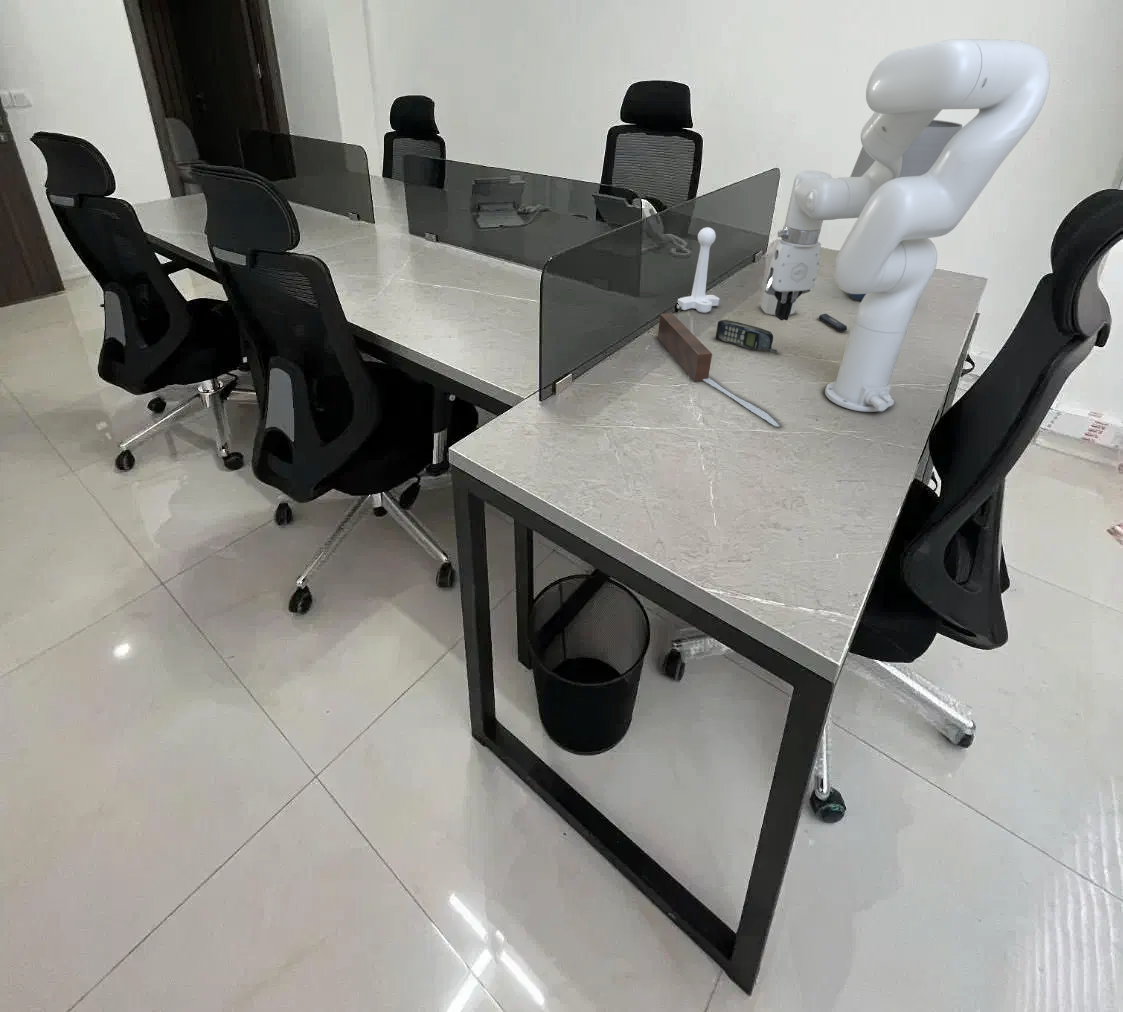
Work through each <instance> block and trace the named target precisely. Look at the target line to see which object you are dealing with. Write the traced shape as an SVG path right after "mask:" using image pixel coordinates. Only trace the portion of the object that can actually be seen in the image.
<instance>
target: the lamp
mask: <svg viewBox="0 0 1123 1012" xmlns="http://www.w3.org/2000/svg"><path fill="white" fill-rule="evenodd" d="M962 127H963V124H961V123H958V122H954V121H947V120H940V119H933V121H932V122H931V123H930V124H929V125H928V126H927V127H926V128H925V129H924V130H923V132H922V133H921V134H920V135H919V136H918V137H917V138H916V139H915V140H914V142H913V143H912V144H911V145H910V146H909V147H908V148H907V150H906V151H905V152H904V153H903V154H902V167H901V171H900V174H899V177H908V176H921V175H923V174H925V173H927V172H928V171H929V170H930V168H931V167H932V166H933V165H934V163H935V162H936V160H937V159H938V157H939V156H940V154H941V152H942V151H943V149H944V147H945V146H946V144H947V143H948V142H949V141H950V139H951V138H952V137H953V136H954V135H955V134H956V133H957V132H958V131H959V130H960V129H961V128H962ZM875 161H876V160H874V159H873V158H872V157H871V156H870V155H869V154H868V153H867V152H866V151H865V149H864V147H863V146H862V147H861V149H860V152H859V154H858V156H857V159H856V161H855V164H854V166H853V169H852V171H851V174H850V176H849V177H861V176H862V175H863V174H864V173H865V172H866V171H867V170H868V169H869V168H870V167H871V166H872V164H873V163H874V162H875ZM899 177H898V178H899ZM847 295H848V296H849V297H850V298H851V299H853V300H855V301H858V302H861V301H862V300H863V298H864V296H865V295H866V294H850V293H847Z"/></svg>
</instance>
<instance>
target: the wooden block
mask: <svg viewBox="0 0 1123 1012" xmlns="http://www.w3.org/2000/svg"><path fill="white" fill-rule="evenodd" d="M658 321H659V322H658V330H657V340H658V342H660V343H661V344H662V346H664V348H665V349H666V351H668V353H670V355H671V356H672V357H673V358H674V359H675V361H676V362H677V363H678V364H679V365H680V366H681V368H682V369H683V370H684V371H685V372H686V373H687V374H688V375H689V377H690V378H691V379H692V381H694V382H704V381H703V379H708V377H709V376H710V371H711V370H710V369H711V364H712V359H713V353H712V352H711V350H709V349H708V348H707V347H706V346H705V344H704V343H702V342H701V341H700V340H699V338H698V337H696V336H695V335H694V333H693V332H692V331H691V330H690V329H689V328H688V327H687V326H686V325H685V324H683V322H682V321H681V320H680V319H679V318H678V317H677V316H676V315H675V314H673V312H669V313H667V312H666V313H660V314H659V320H658Z"/></svg>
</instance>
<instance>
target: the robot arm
mask: <svg viewBox="0 0 1123 1012" xmlns="http://www.w3.org/2000/svg"><path fill="white" fill-rule="evenodd" d="M1049 63H1050V62H1049V60H1048V58H1047V56H1046V54H1045V52H1043V50H1042V49H1041V48H1039V47H1038V46H1037V45H1035V44H1032V43H1030V42H1027V41H1023V40H1016V39H997V38H996V39H983V38H953V39H946V40H942V41H935V42H933V43H927V44H923V45H918V46H915V47H910V48H904V49H900V50H899V49H898V50H896V51H894V52H892V53H889V54H888V55H887V56H885V57H883V59H882V60H880V62H878V64H877V65H876V66H875V67H874V69H873V71H872V72H871V74H870V76H869V79H868V81H867V84H866V88H865V89H866V90H865V100H866V105H867V106H868V108H869V109H870V110H871V111H872V112H874V113H872V114H871V116H870V118H869V119H868V120H867V121H866V122H865V124H864V125H863V127H862V129H861V132H860V142H861V145H862V147H864V149H865V151H866V152H867V153H868V154H869V155H870V156H871V157H872V158H873V159H874V160H876V161H875V162H874V163H873V164H872V166H871V167H870V168H869V169H868V170H867V171H866V172H865V173H864V174H863V175H862V176H861V177H850V176H845V177H833V176H832V175H831V174H830V173H828V172H827V171H821V170H812V169H811V170H802V171H800V172H798V173H797V174H796V175H795V177H794V180H793V184H792V189H791V194H790V197H789V202H788V208H787V211H786V212H787V213H786V217H785V221H784V225H783V228H782V229H781V230H778V231H777V237H778V238H781V239H779V240H778V241H777V244H776V246H775V248H774V251H773V254H772V257H771V260H770V263H769V267H768V270H767V274H766V279H767V280H766V279H765V283H767V287H766V289H765V292H766V293H767V294H769V295H773V296H775V297H776V299H777V300H778V301H777V306H776V310H775V315H774V316H775V318H777V319H778V320H779V321H781V322H783V321H788V320H789V317H790V316H791V315H790V312H791V308H792V304H793V303H794V302H795V301H796V299H797V298H798V299H799V297H801V295H804V294H807V293H810V292H811V290H812V289H813V288H814V287H815V286H816V283H817V278H818V274H819V268H820V261H821V251H822V249H821V248H822V247H821V246H822V244H821V242H820V241H819V238H820V234H821V231H822V226H823V222H824V221H832V220H841V219H842V220H843V219H856V220H855V223H854V225H853V226H852V227H851V230H850V231H849V233H848V235H847V236H846V238H845V240H844V242H843V244H842V245H841V248H840V249H839V251H838V254H837V256H836V259H835V263H834V271H833V272H834V274H833V275H834V280H835V284H836V285H837V287H838V288H839V289H840V290H841V291H843V292H845V293H847V294H848V293H850V294H866V295H865V296H864V298H863V300H862V301H860V303H859V305H858V307H857V310H856V313H855V315H854V319H853V322H852V326H851V329H850V332H849V337H848V339H847V343H846V346H845V350H844V353H843V357H842V360H841V363H840V366H839V369H838V373H837V377H836V379H835V380H833V381H831V382H829V383H827V385H826V386H825V390H824V395H825V396H826V398H827V399H828V401H830V402H832V404H833V403H834V404H835V405H837V406H839V407H842V408H844V409H848V410H852V411H855V412H864V413H876V412H885V411H886V409H888V408H890V407H892V406H893V405H894V404H895V400H894V399H893V398H892V395H891V394H890V390H891V388H892V387H891V386H890V385H889V384H890V381H891V377H892V375H893V372H894V369H895V366H896V363H897V361H898V358H899V355H900V352H901V350H902V346H903V343H904V341H905V337H906V335H907V332H908V330H909V326H910V324H911V320H912V318H913V316H914V313H915V310H916V308H917V305H918V303H919V301H920V299H921V297H922V295H923V293H924V291H925V290H926V288H927V286H928V284H929V282H930V281H931V279H932V277H933V275H934V273H935V271H936V268H937V263H938V252H937V247H936V245H935V244H934V241H932V240H931V239H932V238H938V237H939V238H940V237H943V236H946V235H948V234H949V233H951V232H952V231H953V230H954V229H955V228H956V227H957V226H958V225H959V223H960V222H961V221H962V219H963V218H964V217H965V215H966V214H967V213H968V211H969V210H970V209H971V207H972V206H973V205H974V203H975V202H976V200H977V199H978V198H979V196H980V195H981V194H982V192H983V190H984V189H985V188H986V187H987V185H988V183H989V182H990V181H991V180H992V178H993V176H994V174H995V173H996V172H997V171H998V169H999V167H1001V165H1002V163H1004V161H1005V160H1006V158H1007V157H1008V156H1009V155H1010V153H1011V152H1012V151H1013V150H1014V148H1016V146H1017V145H1018V144H1019V143H1020V142H1021V140H1022V139H1023V138H1024V136H1025V135H1026V134H1027V133H1028V132H1029V130H1030V129H1031V127H1032V126H1033V125H1034V123H1035V122H1036V120H1037V119H1038V116H1040V113H1041V111H1042V109H1043V107H1044V105H1045V102H1046V99H1047V97H1048V93H1049V89H1050V81H1051V68H1050V64H1049ZM943 110H978V112H977V114H976V115H975V116H974V117H973V118H972V119H971V120H969V121H968V122H967V123H966V124H964V125H963V126H962V128H961V129H960V130H959V131H958V132H957V133H956V134H955V135H954V136H953V137H952V138H951V139H950V141H949V142H948V143H947V144H946V146H945V147H944V149H943V151H942V152H941V154H940V156H939V157H938V159H937V160H936V162H935V163H934V165H933V166H932V167H931V168H930V170H929V171H928V172H927V173H925V174H923V175H921V176H908V177H899V174H900V171H901V167H902V154H903V153H904V152H905V151H906V150H907V148H908V147H909V146H910V145H911V144H912V143H913V142H914V140H915V139H916V138H917V137H918V136H919V135H920V134H921V133H922V132H923V130H924V129H925V128H926V127H927V126H928V125H929V124H930V123H931V122H932V121H933V120H935V119H936V117H937V116H938V115H940V113H941V112H942V111H943ZM898 177H899V178H898Z"/></svg>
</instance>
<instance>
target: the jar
mask: <svg viewBox="0 0 1123 1012" xmlns="http://www.w3.org/2000/svg"><path fill="white" fill-rule="evenodd" d="M766 280H767V278H766V279H765V281H766ZM766 287H767V283H766V282H765V283H764V289H763V294H762V299H761V303H760V309H761V310H762V311H763V312H764V313H765V315H771V316H775V310H776V306H777V301H778V300H777V299H776V297H775V296H773V295H769V294H767V293H766V292H765V289H766ZM798 300H799V297H798V298H797V299H796V301H795V302H794V303H793V304H792V308H791V312H790V315H789V316H791V315H794V314H795V313H796V311H797V310H796V309H797V305H798Z"/></svg>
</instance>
